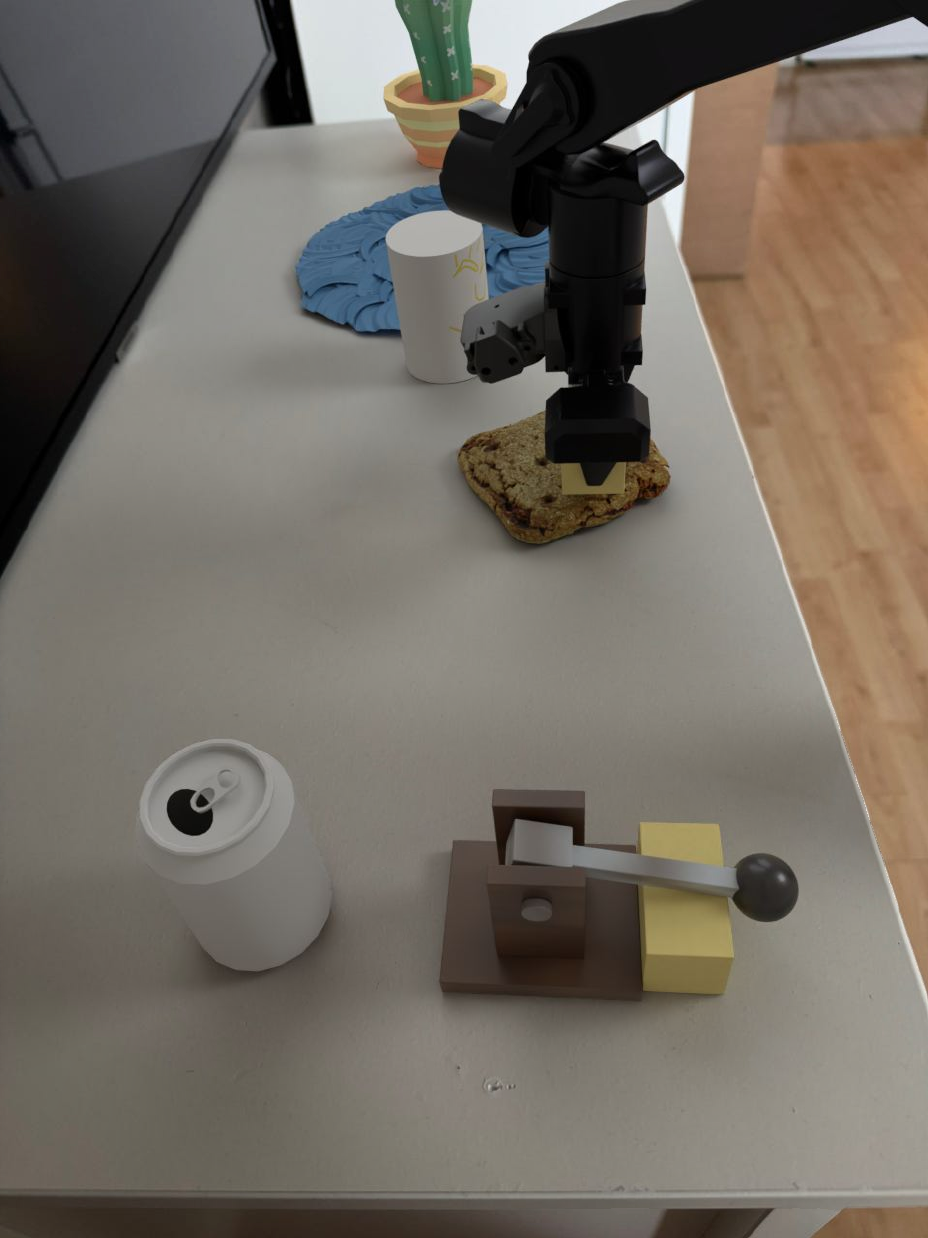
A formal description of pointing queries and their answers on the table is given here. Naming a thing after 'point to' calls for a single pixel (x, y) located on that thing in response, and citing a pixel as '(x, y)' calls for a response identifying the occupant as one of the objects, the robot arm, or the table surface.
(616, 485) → the butter pat
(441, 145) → the potted cactus
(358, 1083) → the table surface
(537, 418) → the pastry
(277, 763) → the can
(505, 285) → the decorative plate
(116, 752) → the table surface
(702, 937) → the butter
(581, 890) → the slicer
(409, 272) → the cup
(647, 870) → the blade
